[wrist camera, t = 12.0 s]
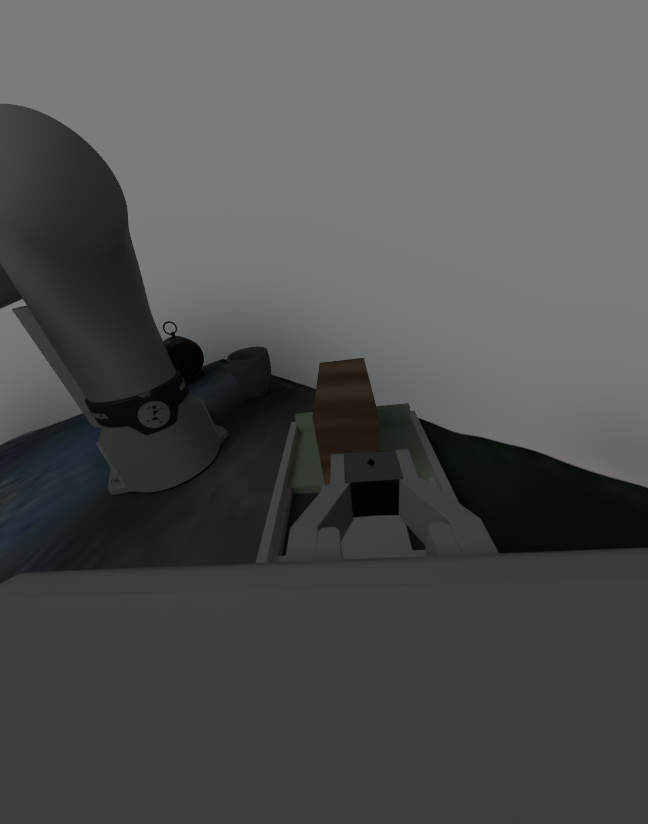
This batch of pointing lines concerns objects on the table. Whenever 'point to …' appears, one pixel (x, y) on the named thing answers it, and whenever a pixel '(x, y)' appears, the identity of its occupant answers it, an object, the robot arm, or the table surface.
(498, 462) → the table surface
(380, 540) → the box
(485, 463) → the table surface
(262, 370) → the mug
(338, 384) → the walnut block
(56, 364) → the cylinder vase
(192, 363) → the alarm clock
